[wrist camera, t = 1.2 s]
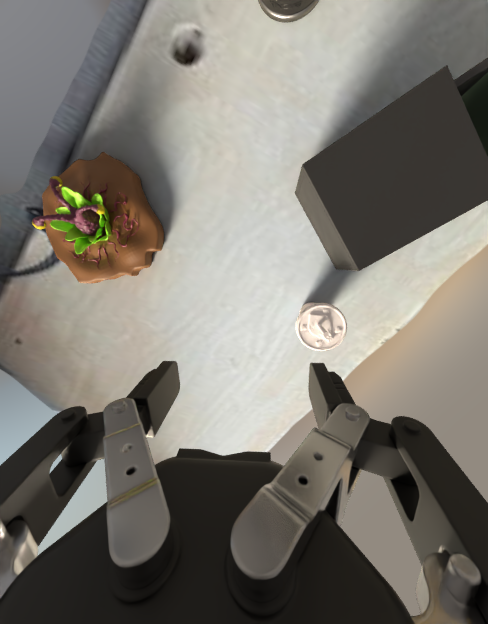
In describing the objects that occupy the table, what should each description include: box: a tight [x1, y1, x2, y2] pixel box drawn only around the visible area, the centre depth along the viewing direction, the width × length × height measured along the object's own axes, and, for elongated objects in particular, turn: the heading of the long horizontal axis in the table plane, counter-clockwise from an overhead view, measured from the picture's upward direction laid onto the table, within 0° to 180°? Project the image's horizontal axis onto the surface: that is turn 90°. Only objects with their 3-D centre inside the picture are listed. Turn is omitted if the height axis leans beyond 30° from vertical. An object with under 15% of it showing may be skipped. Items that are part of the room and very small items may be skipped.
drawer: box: [454, 58, 488, 156], centre depth 28 cm, size 19×12×9 cm, turn 121°
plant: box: [32, 152, 164, 283], centre depth 36 cm, size 20×20×11 cm
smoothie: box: [296, 303, 347, 351], centre depth 33 cm, size 6×6×14 cm
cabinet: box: [295, 66, 488, 271], centre depth 30 cm, size 16×14×11 cm
